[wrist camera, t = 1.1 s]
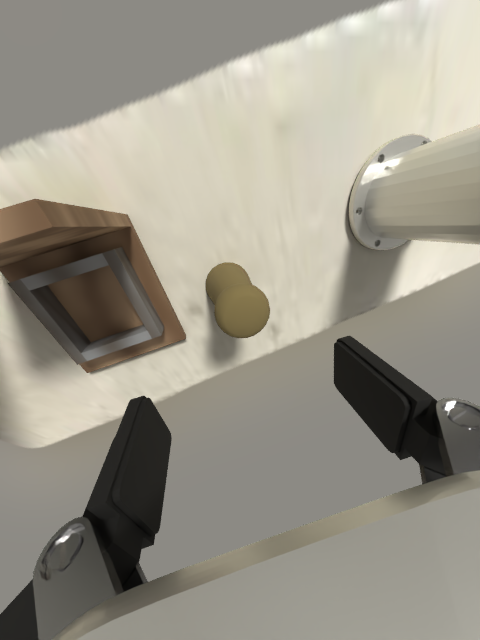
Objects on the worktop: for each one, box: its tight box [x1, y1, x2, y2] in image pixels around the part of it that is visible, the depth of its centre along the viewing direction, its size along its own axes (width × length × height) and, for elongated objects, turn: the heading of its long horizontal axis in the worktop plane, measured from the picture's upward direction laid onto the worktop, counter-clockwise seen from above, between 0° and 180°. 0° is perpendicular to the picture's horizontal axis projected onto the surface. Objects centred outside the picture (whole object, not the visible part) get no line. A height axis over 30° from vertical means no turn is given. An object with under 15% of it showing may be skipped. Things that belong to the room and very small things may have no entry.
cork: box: [206, 263, 270, 338], centre depth 22 cm, size 6×6×11 cm
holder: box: [0, 199, 186, 373], centre depth 19 cm, size 14×16×14 cm
